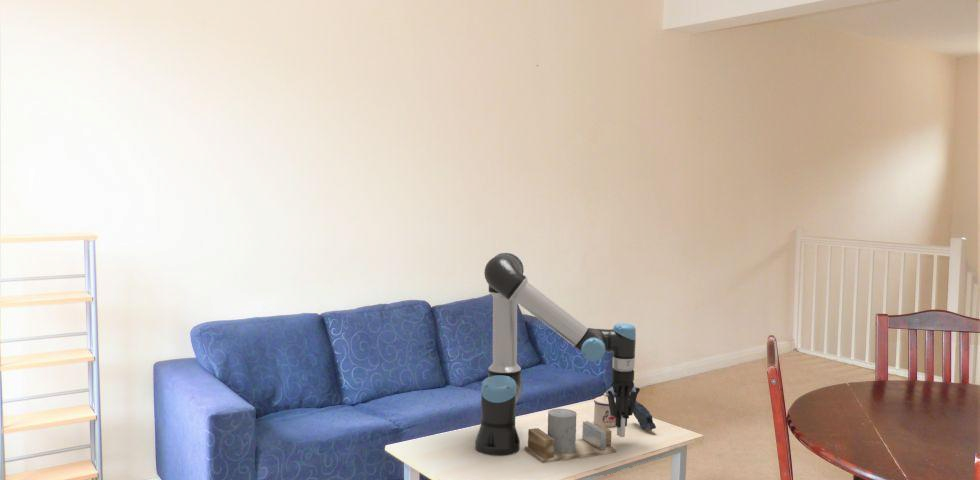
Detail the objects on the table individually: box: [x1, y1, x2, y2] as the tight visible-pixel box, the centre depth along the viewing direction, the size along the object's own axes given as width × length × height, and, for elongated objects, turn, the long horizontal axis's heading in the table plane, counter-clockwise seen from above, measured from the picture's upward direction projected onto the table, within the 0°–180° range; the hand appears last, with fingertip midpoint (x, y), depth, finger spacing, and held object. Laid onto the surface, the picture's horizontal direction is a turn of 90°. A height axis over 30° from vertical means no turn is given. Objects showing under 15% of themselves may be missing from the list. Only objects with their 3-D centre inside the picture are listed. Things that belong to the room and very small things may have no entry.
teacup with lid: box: [593, 392, 616, 428], centre depth 290 cm, size 12×9×12 cm
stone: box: [632, 400, 657, 431], centre depth 285 cm, size 14×6×10 cm, turn 39°
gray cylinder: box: [547, 408, 578, 454], centre depth 259 cm, size 10×10×12 cm
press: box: [524, 427, 617, 463], centre depth 260 cm, size 28×13×7 cm, turn 113°
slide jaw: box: [581, 420, 612, 450], centre depth 265 cm, size 6×12×6 cm, turn 23°
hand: (620, 435), depth 268 cm, fingers closed
